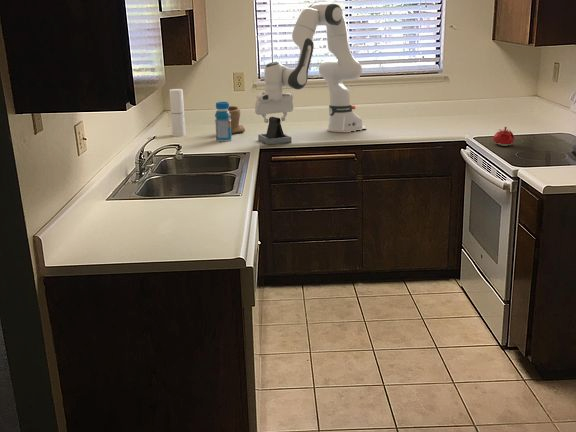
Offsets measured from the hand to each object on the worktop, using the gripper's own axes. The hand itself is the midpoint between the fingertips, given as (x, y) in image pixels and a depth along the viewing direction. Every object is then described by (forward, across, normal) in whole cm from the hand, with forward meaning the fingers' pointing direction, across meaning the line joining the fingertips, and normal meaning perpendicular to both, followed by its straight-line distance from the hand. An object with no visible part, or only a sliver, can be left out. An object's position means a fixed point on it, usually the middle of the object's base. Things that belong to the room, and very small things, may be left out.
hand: (274, 121), depth 332 cm
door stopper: (+10, 0, 0) cm, 10 cm away
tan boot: (+11, +13, -32) cm, 36 cm away
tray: (+10, +1, 0) cm, 10 cm away
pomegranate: (+12, -98, +61) cm, 116 cm away
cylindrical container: (+10, +42, -39) cm, 58 cm away
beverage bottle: (+10, +24, -14) cm, 30 cm away
